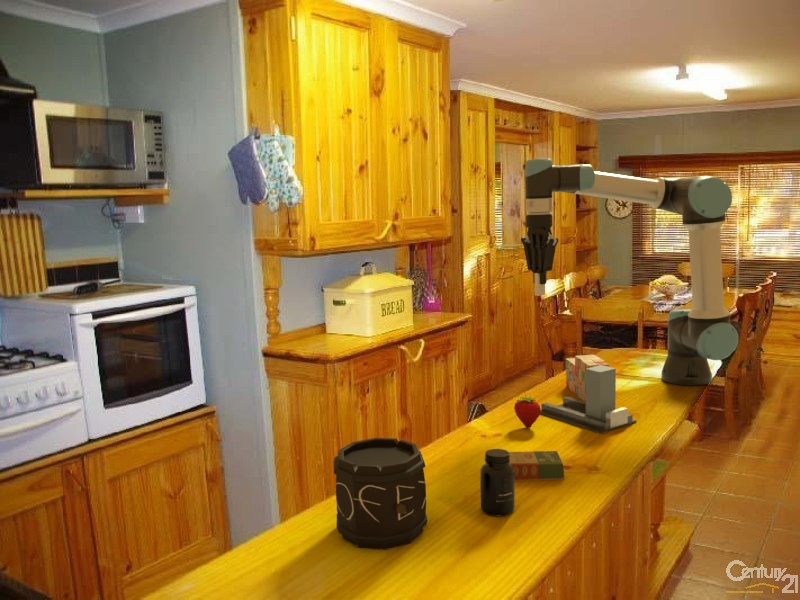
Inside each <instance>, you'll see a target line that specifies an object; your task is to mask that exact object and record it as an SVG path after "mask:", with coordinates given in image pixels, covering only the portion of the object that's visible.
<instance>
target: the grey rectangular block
mask: <svg viewBox="0 0 800 600" xmlns="http://www.w3.org/2000/svg"><path fill="white" fill-rule="evenodd" d="M616 371H617V370H616V368H615V367H612V366H611V367H610V366H609V367H607V366H603V365H599V366H595V367H591V368H587V369H586V415H590V416H593V417H596V418H600V419H603V420H606V412H609V411H612V410H615V409H616V407H617V406H616V400H617V399H616V398H617V397H616V395H617V394H616V393H617V391H616V388H617V387H616V381H617V380H616Z"/></svg>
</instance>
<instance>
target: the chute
mask: <svg viewBox="0 0 800 600" xmlns="http://www.w3.org/2000/svg"><path fill="white" fill-rule="evenodd" d="M540 404H541V405H540V408H541V411H540V415H542V416H545V417H549V418H550V419H551V418H552V419H555V420H559V421H560V422H564V423H567V424H570V425H573V426H576V427H579V428H583V429H586V430H588V431H591V432H595V433H597V434H605V433H608V432H611V431H615V430H617V429H620V428H623V427H626V426H629V424H630V425H632V424H631V423H633V424H636V423H637V420H636V419H633V414H631V413H629V411H628V410H629V408H628V407H624V406H623V407H622V406H621V407H619V408H615V410H612V411H609V412H606V420H603V419H600V418H596V417H593V416H590V415H586V402H585V401H583V400H582V399H578V398H575V397H572V396H565V397H562V403H561V404H558V405H556V404H553V403H550V402H543V403H540ZM635 422H636V423H635ZM622 426H623V427H622Z"/></svg>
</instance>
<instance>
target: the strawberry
mask: <svg viewBox="0 0 800 600" xmlns="http://www.w3.org/2000/svg"><path fill="white" fill-rule="evenodd" d="M524 395H525V397H524V396H520V398H521V399H517V400H516V402H515V403H514V407H513V409H514V412H515V415H516V417H517V418H518V419H519V421H520V422H521V423H522V424H523V425H524V427H525V428H527V429H530V428H531V427H532V426H533V424H534V423H535V422H536V421H537V420H538V418H540V415H541V414H540V411H541V405H540V404H539V403H538V401H537V400H536V398H535V397H534V398H533V397H532V396H527V395H526V392H525V391H524ZM536 401H537V402H536Z"/></svg>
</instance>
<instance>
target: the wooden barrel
mask: <svg viewBox="0 0 800 600" xmlns="http://www.w3.org/2000/svg"><path fill="white" fill-rule="evenodd" d="M332 464H333V474H334V475H335V501H336V502H335V503H336V531H337V532H338V533H339V534H342V539H343V540H344V541H346V542H348V543H350V544H352V545H354V546H356V547H357V548H359V549H370V550H384V551H385V550H386V551H387V550H389V549H394V548H397V547H401V546H406V545H409V544H412V542H413V541H414V540H416V539H417V537H419V536H420V535H421V534H423V531H424V527H425V526H427V524H428V517H427V514H426V509H427V487H426V479H425V477H426V476H425V472H424V468H426V462H425V460H424V457H423V454H422V451H421V450H419V448H418V445H417V444H416V443H413V442H410V441H408V440H405V439H401V440H398V439H397V438H393V437H392V438H391V437H390V438H389V437H372V438H367V439H362V440H357V441H352V442H350V443H349V444H347V445H345V446H343V447H342V448H340V449H339V450H338V451H337V456H335V457H334V458H333V463H332Z"/></svg>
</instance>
